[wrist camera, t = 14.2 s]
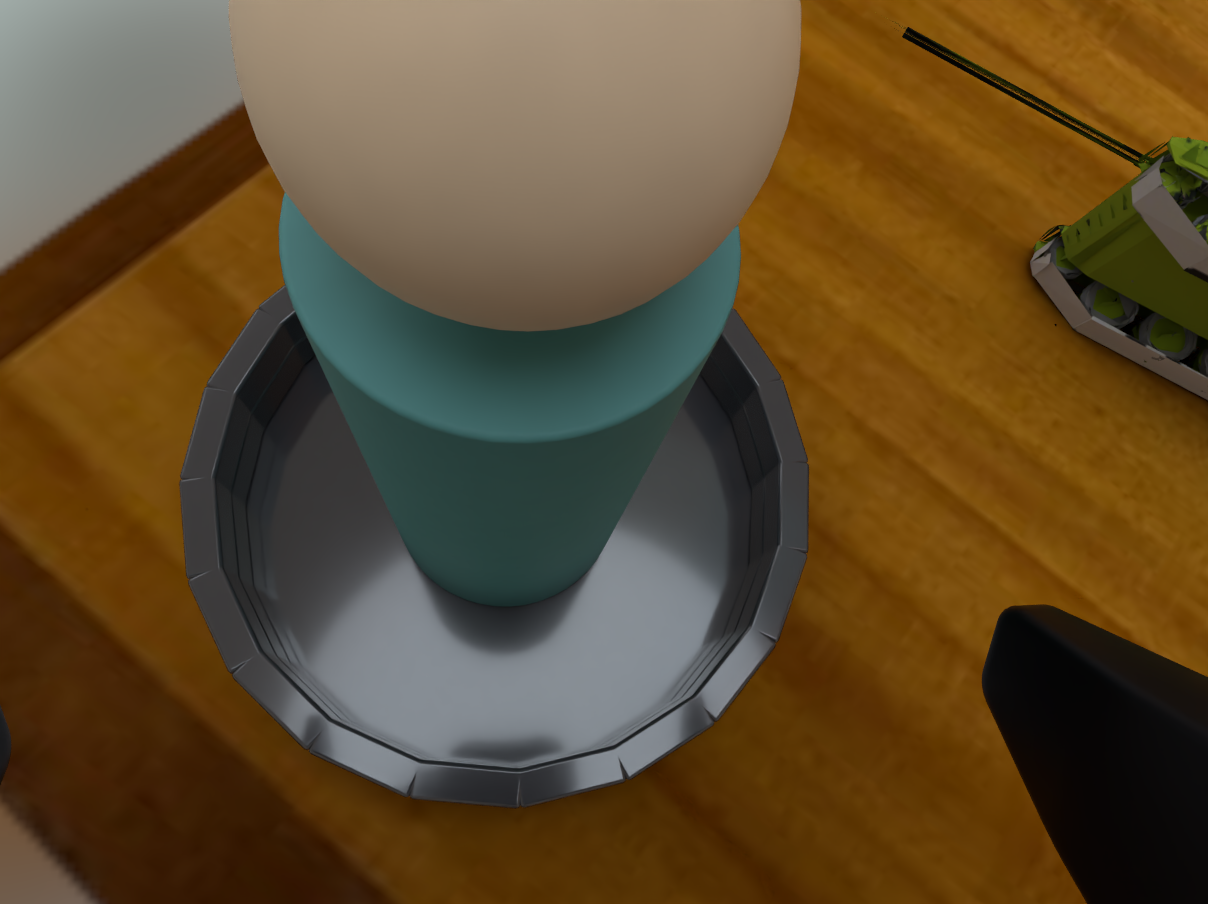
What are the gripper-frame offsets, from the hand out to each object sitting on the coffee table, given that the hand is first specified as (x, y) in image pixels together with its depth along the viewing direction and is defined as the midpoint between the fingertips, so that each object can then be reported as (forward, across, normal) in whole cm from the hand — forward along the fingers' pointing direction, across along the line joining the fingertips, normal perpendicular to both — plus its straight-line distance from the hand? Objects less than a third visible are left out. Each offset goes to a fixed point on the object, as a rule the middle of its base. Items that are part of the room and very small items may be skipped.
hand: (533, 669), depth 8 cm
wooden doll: (+9, 0, +3) cm, 10 cm away
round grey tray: (+9, 0, +4) cm, 10 cm away
